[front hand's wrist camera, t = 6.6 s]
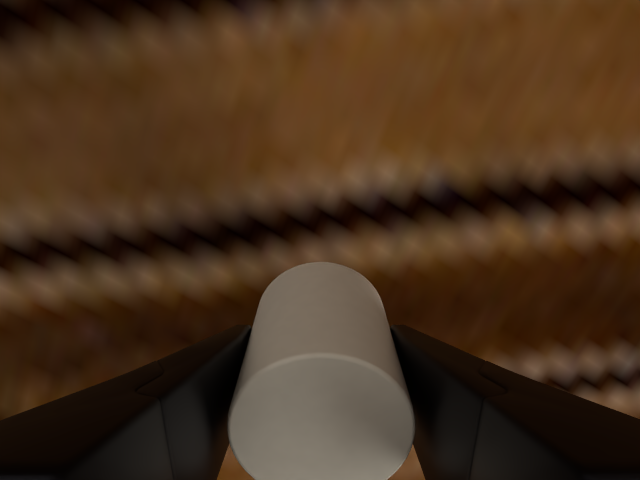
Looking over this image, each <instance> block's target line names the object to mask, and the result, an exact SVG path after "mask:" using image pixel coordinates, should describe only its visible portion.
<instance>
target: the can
mask: <svg viewBox="0 0 640 480" xmlns="http://www.w3.org/2000/svg"><path fill="white" fill-rule="evenodd" d="M415 429H416V424H415V414H414V409H413V406H412V402H411V399H410V396H409V392H408V389H407V385H406V382H405V379H404V375H403V372H402V368H401V365H400V362H399V358H398V355H397V351H396V348H395V345H394V341H393V338H392V335H391V331H390V328H389V324H388V321H387V318H386V314H385V311H384V307H383V304H382V301H381V299H380V296H379V294H378V293H377V291H376V289H375V288H374V287H373V285H372V284H371V283H370V282H369V281H368V280H367V279H366V278H365V277H364V276H362V275H361V274H360V273H358V272H356V271H355V270H353V269H351V268H348V267H346V266H343V265H340V264H336V263H329V262H312V263H306V264H302V265H299V266H296V267H293V268H291V269H289V270H287V271H285V272H284V273H282V274H281V275H279V276H278V277H277V278H276V279H275V280H273V281H272V282H271V284H270V285H269V286H268V287H267V289H266V290H265V292H264V293H263V295H262V298H261V300H260V303H259V307H258V310H257V314H256V317H255V321H254V324H253V328H252V331H251V335H250V338H249V342H248V345H247V349H246V352H245V356H244V359H243V363H242V366H241V370H240V373H239V377H238V380H237V384H236V387H235V391H234V394H233V398H232V401H231V405H230V408H229V412H228V417H227V434H228V438H229V442H230V446H231V448H232V451H233V453H234V455H235V457H236V459H237V460H238V462H239V463H240V465H241V466H242V467H243V468H244V469H245V471H246V472H247V473H249V474H250V475H251V476H252V477H253V478H254V479H256V480H387V479H388V478H389V477H390V476H392V475H393V474H394V473H395V472H396V471H397V470H398V469H399V468H400V466H401V465H402V464H403V462H404V461H405V459H406V458H407V456H408V454H409V452H410V450H411V447H412V444H413V441H414V436H415Z"/></svg>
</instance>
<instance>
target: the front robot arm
mask: <svg viewBox="0 0 640 480" xmlns="http://www.w3.org/2000/svg"><path fill="white" fill-rule="evenodd" d="M251 331H252V329H251V326H250V325H236V326H234V327H232V328H229V329H227V330H225V331H223V332H220V333H218V334H216V335H214V336H211V337H209V338H207V339H205V340H202V341H200V342H198V343H196V344H193V345H191V346H189V347H187V348H184V349H182V350H180V351H178V352H175V353H173V354H171V355H169V356H167V357H164V358H162V359H160V360H158V361H154V362H152V363H150V364H147V365H145V366H143V367H140V368H138V369H136V370H133V371H131V372H128V373H126V374H123V375H121V376H118V377H116V378H113V379H110V380H108V381H105V382H102V383H100V384H97V385H94V386H92V387H89V388H86V389H84V390H81V391H78V392H76V393H73V394H70V395H68V396H65V397H62V398H60V399H57V400H54V401H52V402H49V403H46V404H44V405H41V406H38V407H35V408H33V409H30V410H27V411H25V412H22V413H19V414H17V415H14V416H11V417H9V418H6V419H3V420H1V421H0V480H217V477H218V474H219V471H220V468H221V465H222V462H223V460H224V457H225V454H226V451H227V448H228V445H229V438H228V434H227V417H228V412H229V408H230V405H231V401H232V398H233V394H234V391H235V387H236V384H237V380H238V377H239V373H240V370H241V366H242V363H243V359H244V356H245V352H246V349H247V345H248V342H249V338H250V335H251ZM390 331H391V335H392V338H393V341H394V345H395V348H396V351H397V355H398V358H399V362H400V365H401V368H402V372H403V375H404V379H405V382H406V385H407V389H408V392H409V396H410V399H411V402H412V406H413V409H414V414H415V424H416V429H415V436H414V441H413V445H414V448H415V451H416V454H417V457H418V459H419V462H420V465H421V468H422V471H423V474H424V476H425V479H426V480H640V419H637V418H635V417H632V416H629V415H627V414H624V413H621V412H619V411H616V410H613V409H610V408H608V407H605V406H602V405H600V404H597V403H594V402H592V401H589V400H586V399H583V398H581V397H578V396H575V395H573V394H570V393H567V392H565V391H562V390H559V389H556V388H554V387H551V386H548V385H546V384H543V383H540V382H538V381H535V380H532V379H530V378H527V377H525V376H522V375H519V374H517V373H514V372H512V371H509V370H507V369H505V368H502V367H500V366H497V365H495V364H493V363H491V362H488V361H486V362H485V360H483V359H480V358H478V357H476V356H473V355H471V354H469V353H467V352H464V351H462V350H460V349H458V348H455V347H453V346H451V345H449V344H446V343H444V342H442V341H439V340H437V339H435V338H433V337H430V336H428V335H426V334H424V333H421V332H419V331H417V330H415V329H412V328H410V327H408V326H406V325H392V326H391V327H390Z"/></svg>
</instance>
